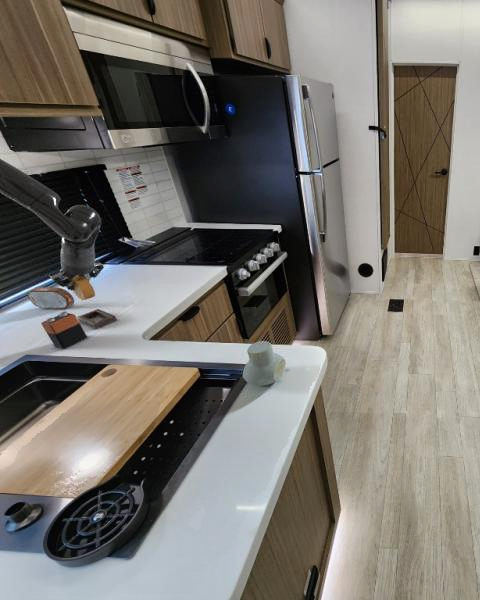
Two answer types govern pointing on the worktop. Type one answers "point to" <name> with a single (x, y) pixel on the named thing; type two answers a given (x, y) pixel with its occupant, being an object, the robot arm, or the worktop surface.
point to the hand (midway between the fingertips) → (77, 286)
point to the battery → (64, 330)
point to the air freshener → (263, 364)
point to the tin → (50, 298)
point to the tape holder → (86, 320)
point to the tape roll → (83, 288)
